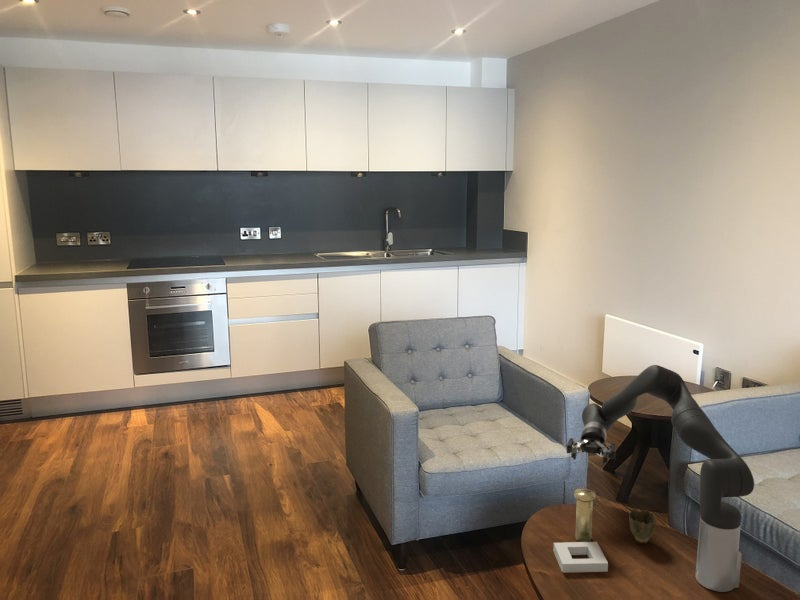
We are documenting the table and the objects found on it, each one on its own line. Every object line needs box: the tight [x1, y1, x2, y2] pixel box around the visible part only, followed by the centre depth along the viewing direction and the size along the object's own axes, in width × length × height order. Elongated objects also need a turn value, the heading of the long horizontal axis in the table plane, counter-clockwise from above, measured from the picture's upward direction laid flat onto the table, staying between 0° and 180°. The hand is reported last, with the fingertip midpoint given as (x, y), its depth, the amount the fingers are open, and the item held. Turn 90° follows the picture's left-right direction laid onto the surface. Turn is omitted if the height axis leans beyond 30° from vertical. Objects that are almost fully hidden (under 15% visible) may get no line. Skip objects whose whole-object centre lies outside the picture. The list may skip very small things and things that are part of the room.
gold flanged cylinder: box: [573, 488, 597, 542], centre depth 189 cm, size 6×6×14 cm
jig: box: [553, 541, 609, 574], centre depth 179 cm, size 12×10×2 cm
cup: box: [628, 509, 658, 544], centre depth 188 cm, size 8×7×8 cm
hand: (589, 458), depth 196 cm, fingers open, 8 cm apart
